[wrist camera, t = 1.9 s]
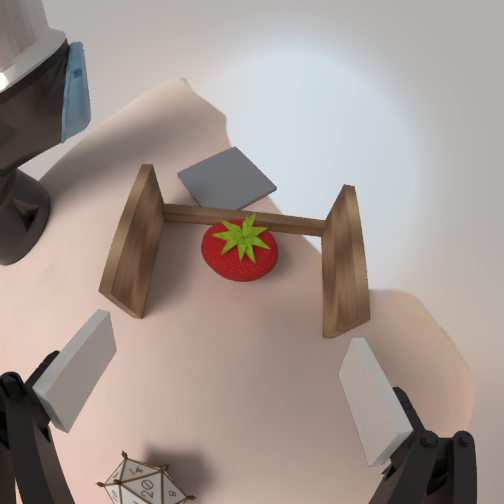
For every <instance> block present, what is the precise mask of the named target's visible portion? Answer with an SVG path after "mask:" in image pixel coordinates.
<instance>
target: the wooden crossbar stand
mask: <svg viewBox="0 0 504 504" xmlns="http://www.w3.org/2000/svg"><path fill="white" fill-rule="evenodd" d="M255 213H256V215H255V218H254V221H253V223H255V224H257V225H260V226H261V227H265V228H267V229H266V230H267V231H275V232H284V233H293V234H302V235H310V236H318V237H321V245H322V271H323V338H334V337H336V336H339V335H341V334H343V333H345V332H347V331H349V330H351V329H353V328H355V327H357V326H359V325H361V324H363V323H365V322H367V321H369V320H370V307H369V292H368V279H367V269H366V260H365V251H364V243H363V235H362V228H361V221H360V215H359V209H358V203H357V198H356V192H355V187H354V186H350V185H345V184H344V186H343V188H342V189H341V191H340V194H339V195H338V197H337V199H336V201H335V203H334V205H333V207H332V209H331V211H330V212H329V214H328V216H327V218H326V220H318V219H310V218H302V217H294V216H286V215H278V214H269V213H260V212H251V211H242V210H232V209H221V208H211V207H199V206H187V205H174V204H164V201H163V198H162V195H161V192H160V188H159V185H158V182H157V178H156V175H155V171H154V168H153V165H152V164H142V166H141V169H140V171H139V173H138V175H137V178H136V180H135V183H134V185H133V187H132V190H131V192H130V195H129V197H128V200H127V203H126V205H125V208H124V211H123V213H122V216H121V219H120V222H119V224H118V227H117V230H116V233H115V236H114V239H113V242H112V245H111V249H110V252H109V255H108V258H107V262H106V265H105V269H104V272H103V276H102V280H101V283H100V287H99V292H100V293H101V294H102V295H104V296H105V297H106V298H107V299H109V300H110V301H111V302H113V303H114V304H115V305H117V306H118V307H119V308H121V309H122V310H123V311H125V312H126V313H127V314H129V315H130V316H131V317H134V318H139V319H142V317H143V312H144V307H145V301H146V297H147V292H148V287H149V282H150V278H151V273H152V269H153V265H154V261H155V256H156V252H157V248H158V244H159V241H160V237H161V233H162V229H163V226H164V222H165V221H175V222H187V223H197V224H208V225H215V224H217V223H219V222H221V220H223V221H226V220H246V216H247V219H248V218H249V217H250V216H252V215H253V214H255Z"/></svg>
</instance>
